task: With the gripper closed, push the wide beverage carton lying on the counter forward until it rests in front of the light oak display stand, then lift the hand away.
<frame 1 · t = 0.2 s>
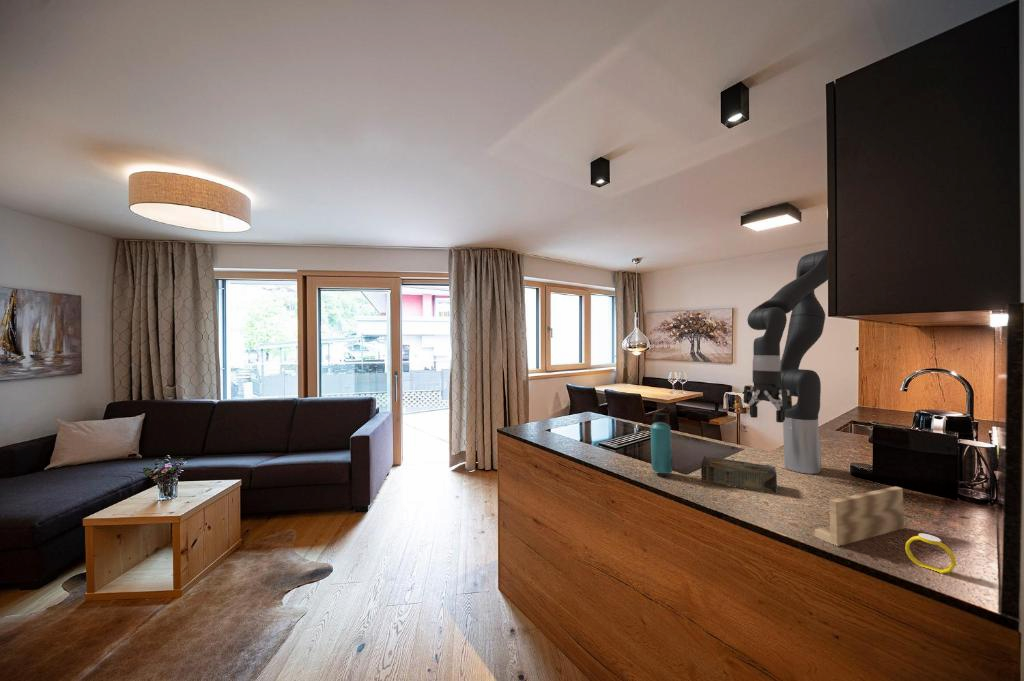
hand: (766, 419, 115), 17 cm above the worktop, tool pointing down, fingers open, 8 cm apart
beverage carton: (738, 485, 108), on the worktop
watch: (930, 569, 66), on the worktop
display stand: (859, 532, 79), on the worktop
beverage bottle: (661, 475, 117), on the worktop
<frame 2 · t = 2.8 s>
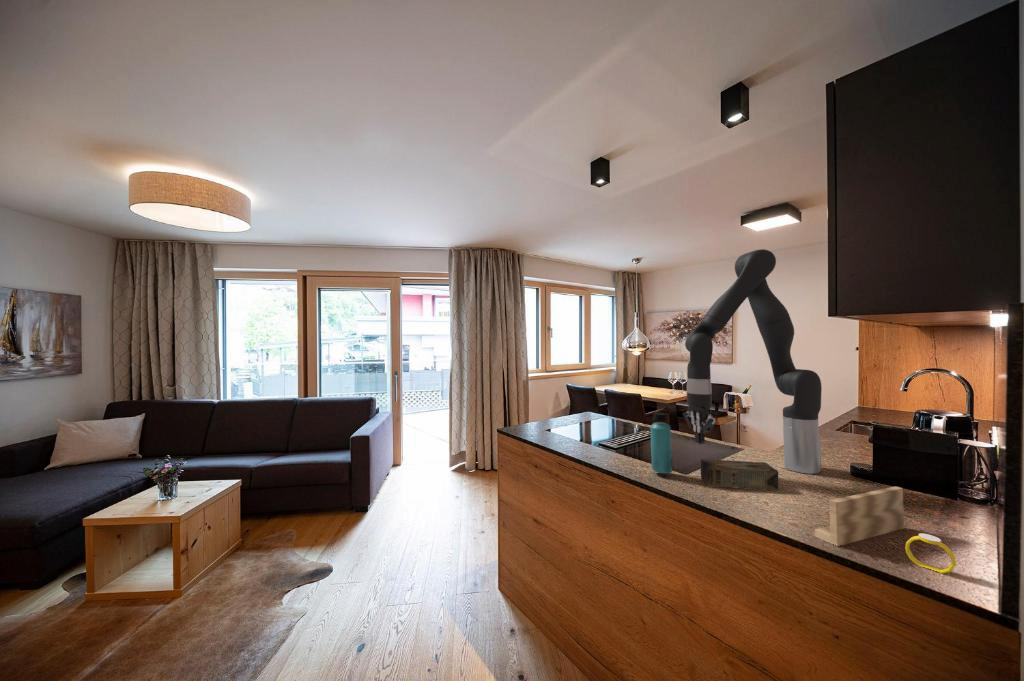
hand: (699, 443, 121), 9 cm above the worktop, tool pointing down, fingers closed
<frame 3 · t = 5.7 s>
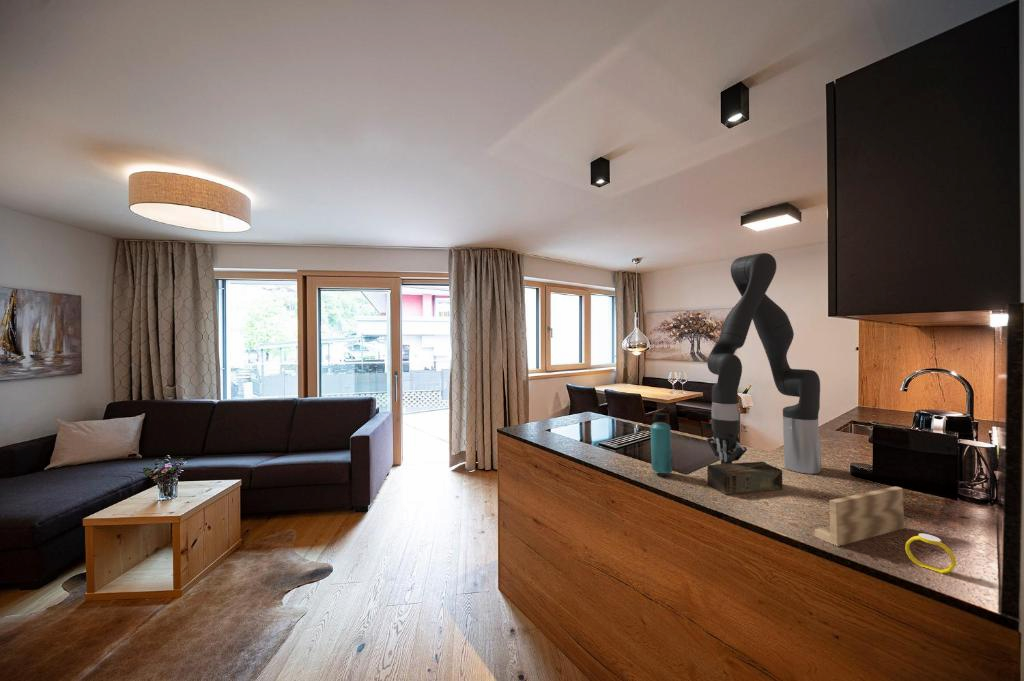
hand: (726, 472, 112), 2 cm above the worktop, tool pointing down, fingers closed
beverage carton: (744, 488, 105), on the worktop, touching gripper
everything else where it was.
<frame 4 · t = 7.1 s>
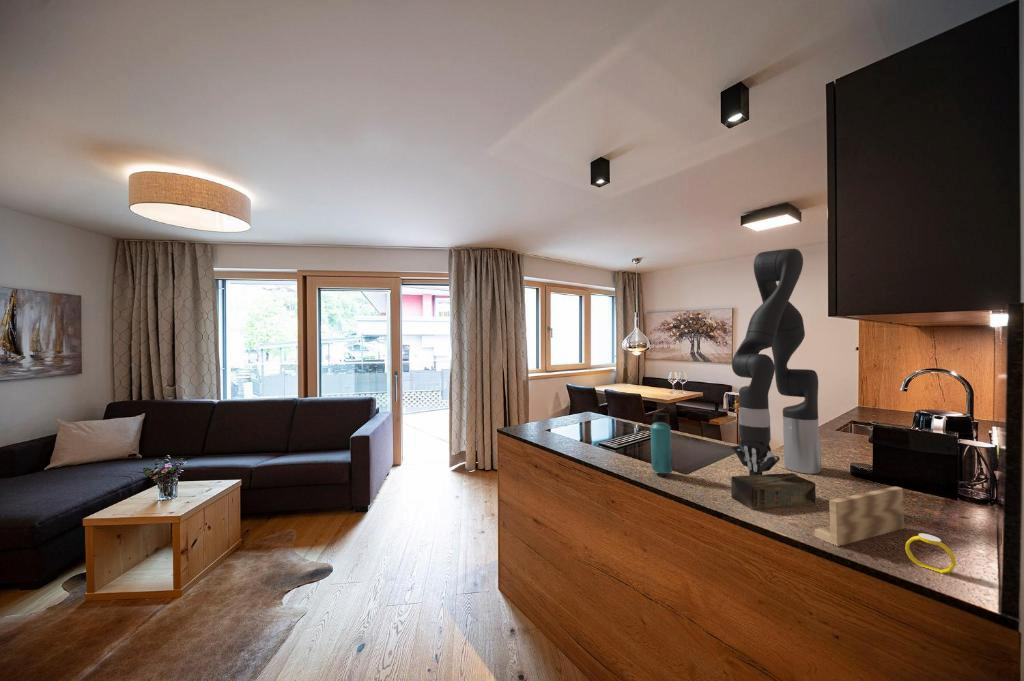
hand: (756, 483, 102), 2 cm above the worktop, tool pointing down, fingers closed
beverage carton: (772, 502, 96), on the worktop, touching gripper
everything else where it was.
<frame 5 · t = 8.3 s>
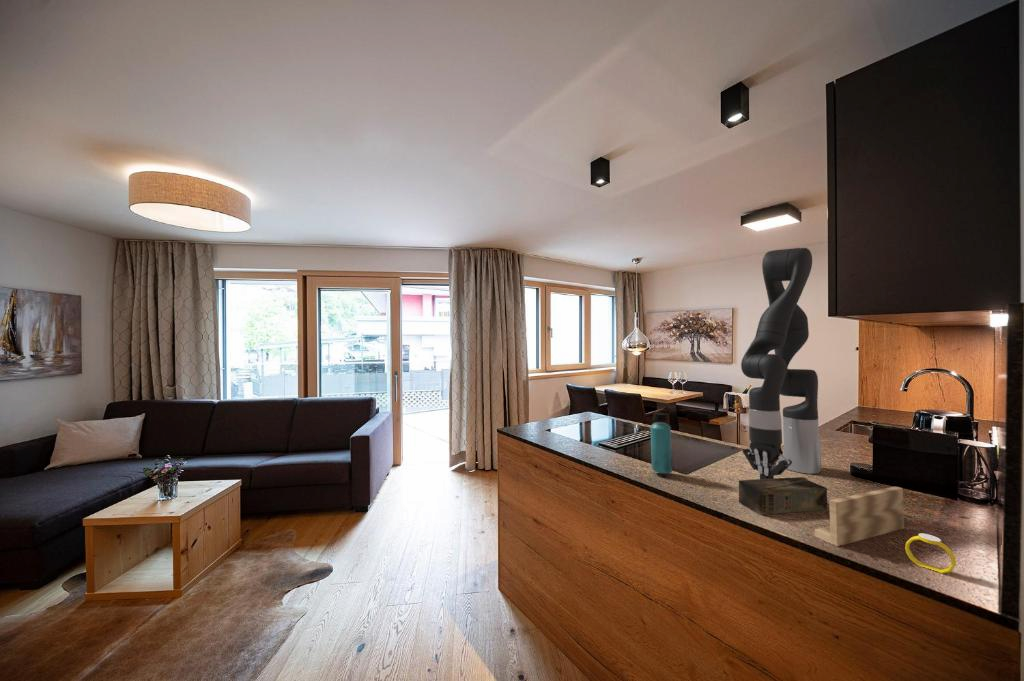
hand: (766, 487, 99), 2 cm above the worktop, tool pointing down, fingers closed
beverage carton: (782, 507, 93), on the worktop
everything else where it was.
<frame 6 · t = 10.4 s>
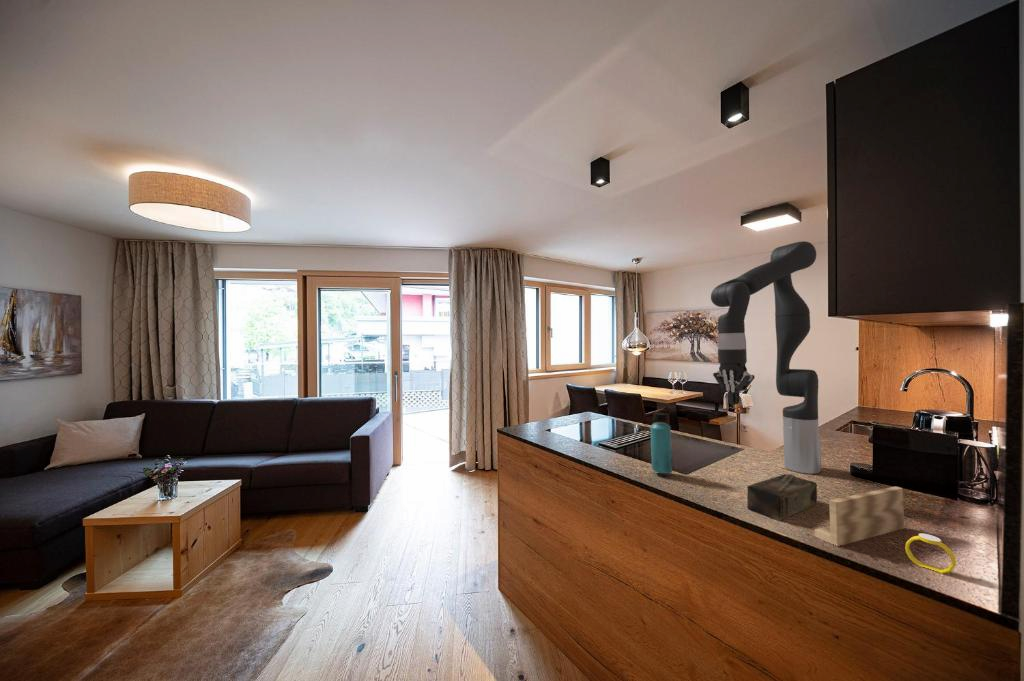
hand: (733, 404, 110), 24 cm above the worktop, tool pointing down, fingers closed
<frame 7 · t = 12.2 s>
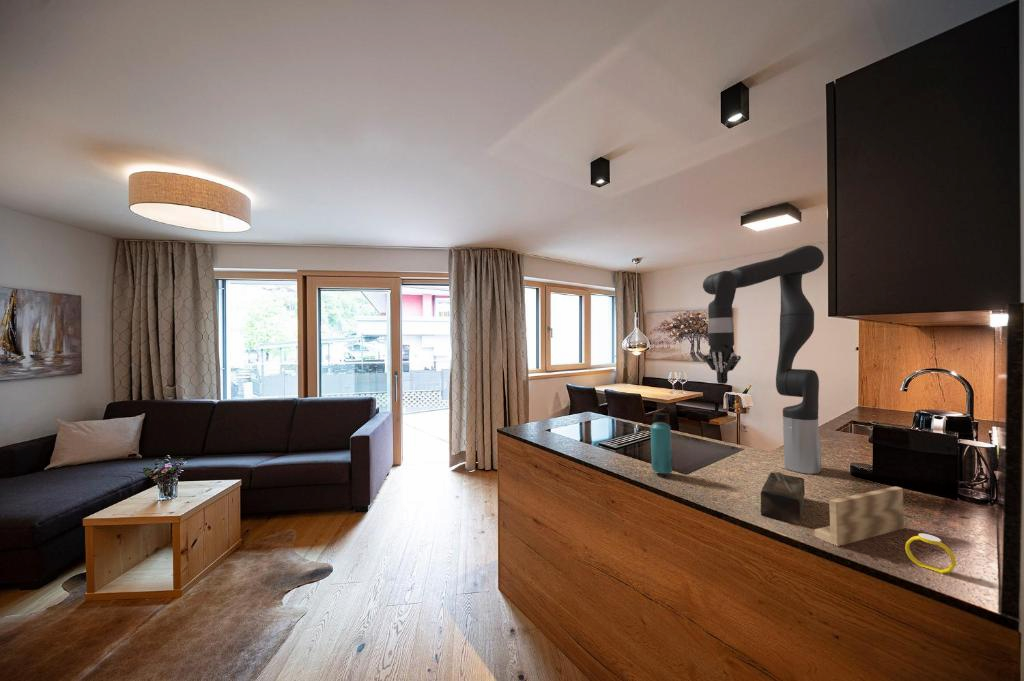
hand: (722, 383, 120), 29 cm above the worktop, tool pointing down, fingers closed
at the end: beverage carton inside the target area (4.9 cm from its centre), on the worktop; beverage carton moved 15.9 cm from its start; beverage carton touching worktop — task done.
